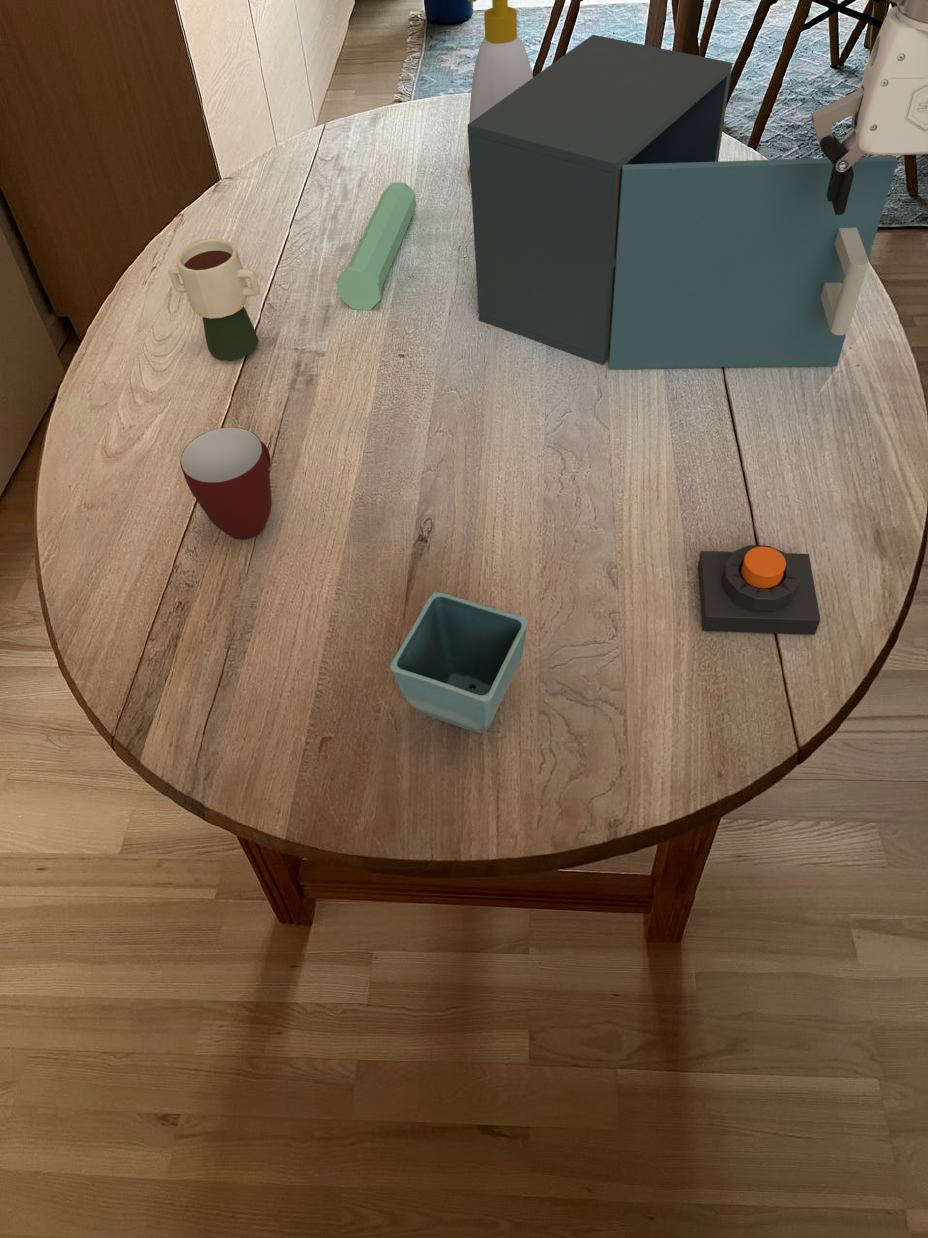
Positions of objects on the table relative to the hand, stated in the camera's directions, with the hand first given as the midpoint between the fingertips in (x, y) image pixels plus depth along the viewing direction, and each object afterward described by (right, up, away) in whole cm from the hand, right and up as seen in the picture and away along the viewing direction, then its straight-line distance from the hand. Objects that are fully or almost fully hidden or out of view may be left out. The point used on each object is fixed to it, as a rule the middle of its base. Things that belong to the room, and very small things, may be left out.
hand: (891, 205), depth 86 cm
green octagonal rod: (-50, +12, +43) cm, 67 cm away
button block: (-12, -36, +2) cm, 38 cm away
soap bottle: (-33, +28, +55) cm, 70 cm away
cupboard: (-23, +5, +35) cm, 42 cm away
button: (-12, -34, -1) cm, 36 cm away
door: (-9, -11, +21) cm, 26 cm away
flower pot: (-39, -45, -3) cm, 60 cm away
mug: (-62, -27, +13) cm, 69 cm away
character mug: (-68, -4, +32) cm, 75 cm away
